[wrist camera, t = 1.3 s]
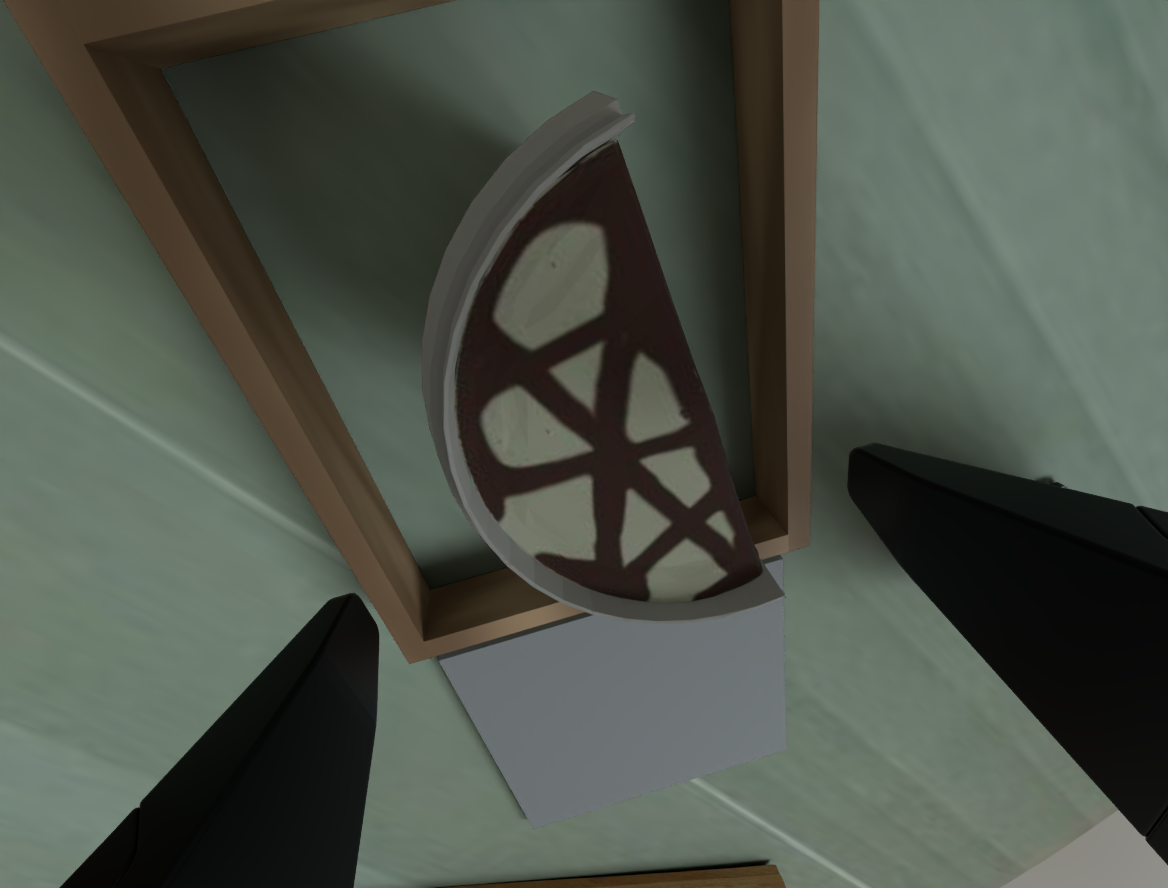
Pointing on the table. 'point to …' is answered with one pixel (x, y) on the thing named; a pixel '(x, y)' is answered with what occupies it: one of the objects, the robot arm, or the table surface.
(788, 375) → the walnut frame
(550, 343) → the food container
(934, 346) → the table surface
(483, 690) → the slate mat
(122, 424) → the table surface
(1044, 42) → the table surface
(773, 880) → the tray
